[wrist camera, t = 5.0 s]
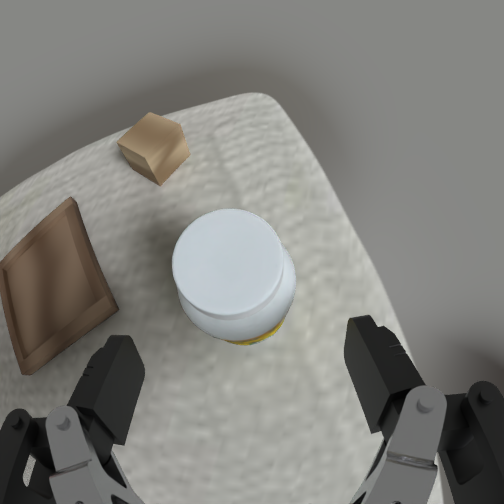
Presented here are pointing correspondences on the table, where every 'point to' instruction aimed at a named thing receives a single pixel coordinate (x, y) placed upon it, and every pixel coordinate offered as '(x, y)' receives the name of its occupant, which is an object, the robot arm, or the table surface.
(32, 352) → the tray
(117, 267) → the table surface
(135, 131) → the oak block
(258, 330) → the supplement bottle
